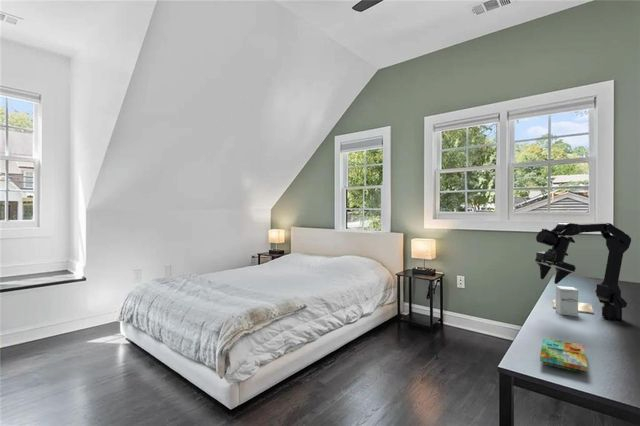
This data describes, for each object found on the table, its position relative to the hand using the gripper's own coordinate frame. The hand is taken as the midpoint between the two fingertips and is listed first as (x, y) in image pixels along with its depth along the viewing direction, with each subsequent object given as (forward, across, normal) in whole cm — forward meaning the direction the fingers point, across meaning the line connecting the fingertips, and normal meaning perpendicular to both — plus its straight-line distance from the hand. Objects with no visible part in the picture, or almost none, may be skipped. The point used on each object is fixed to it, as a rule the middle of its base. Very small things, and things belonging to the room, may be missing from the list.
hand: (548, 281), depth 152 cm
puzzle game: (+24, +43, -18) cm, 53 cm away
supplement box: (+12, -8, +19) cm, 24 cm away
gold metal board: (+9, -18, +29) cm, 36 cm away
